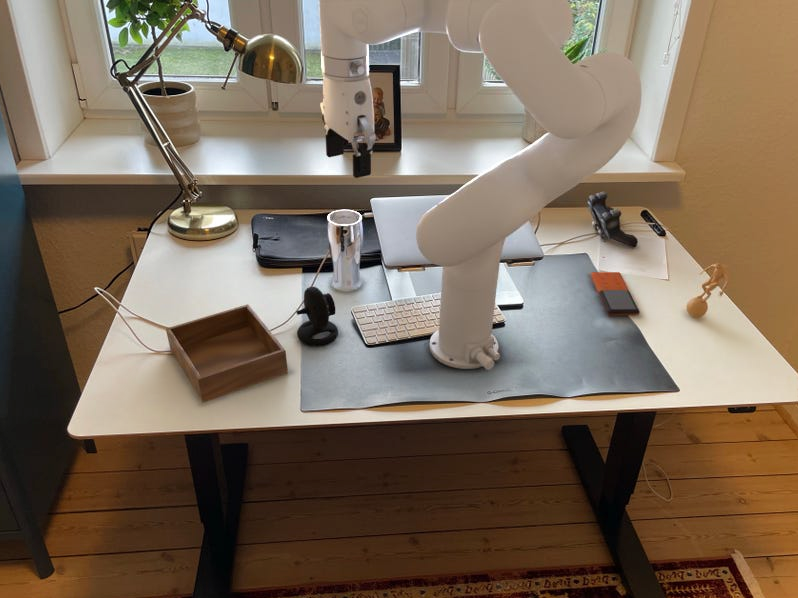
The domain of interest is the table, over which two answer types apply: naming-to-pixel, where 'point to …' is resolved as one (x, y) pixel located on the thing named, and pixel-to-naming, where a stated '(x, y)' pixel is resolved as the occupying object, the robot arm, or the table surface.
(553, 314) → the table surface
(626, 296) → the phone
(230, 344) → the wooden box
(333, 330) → the webcam
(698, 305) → the figurine
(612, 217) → the dark grey mechanical bracket
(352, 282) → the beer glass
